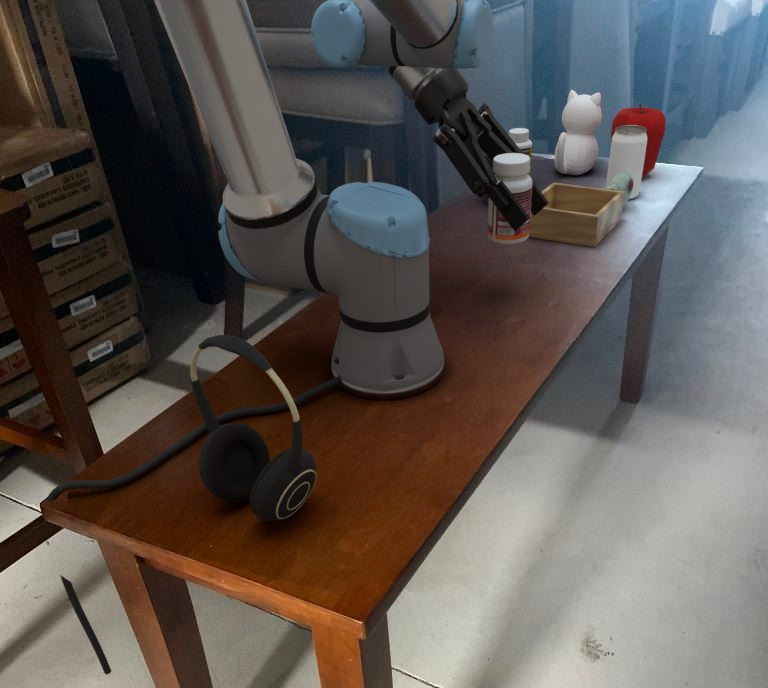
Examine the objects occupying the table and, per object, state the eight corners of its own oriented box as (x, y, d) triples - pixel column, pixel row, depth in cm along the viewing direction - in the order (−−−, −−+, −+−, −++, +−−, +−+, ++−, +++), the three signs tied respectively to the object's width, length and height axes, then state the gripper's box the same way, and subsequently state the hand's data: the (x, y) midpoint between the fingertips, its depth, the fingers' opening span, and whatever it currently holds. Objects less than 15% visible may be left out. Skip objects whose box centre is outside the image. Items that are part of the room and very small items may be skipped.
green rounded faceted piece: (617, 201, 149) (622, 164, 144) (637, 205, 147) (643, 168, 142) (598, 214, 144) (602, 177, 140) (618, 218, 142) (624, 180, 138)
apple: (628, 187, 154) (638, 113, 146) (595, 174, 161) (603, 103, 153) (668, 176, 158) (681, 103, 149) (634, 164, 165) (644, 94, 156)
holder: (594, 247, 133) (598, 216, 129) (521, 235, 138) (523, 205, 135) (620, 221, 141) (625, 191, 138) (550, 211, 147) (553, 182, 144)
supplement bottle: (518, 189, 157) (521, 135, 151) (497, 184, 160) (499, 131, 154) (535, 182, 160) (538, 129, 153) (514, 177, 163) (516, 125, 157)
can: (608, 201, 149) (617, 135, 141) (601, 190, 154) (609, 125, 146) (642, 199, 149) (653, 132, 141) (634, 188, 154) (643, 123, 146)
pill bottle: (537, 238, 115) (543, 157, 108) (506, 248, 112) (510, 167, 105) (509, 227, 119) (513, 149, 112) (478, 237, 116) (481, 158, 109)
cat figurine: (605, 166, 165) (615, 88, 155) (577, 183, 158) (586, 103, 148) (567, 161, 169) (574, 84, 160) (539, 177, 162) (544, 98, 152)
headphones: (288, 551, 78) (255, 380, 65) (190, 501, 86) (143, 338, 73) (341, 506, 83) (321, 339, 70) (244, 462, 91) (209, 303, 78)
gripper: (447, 88, 117) (539, 212, 121) (381, 119, 105) (485, 255, 109) (480, 50, 112) (575, 180, 115) (414, 77, 99) (523, 222, 103)
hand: (532, 216), depth 112 cm, fingers closed on pill bottle, 6 cm apart
